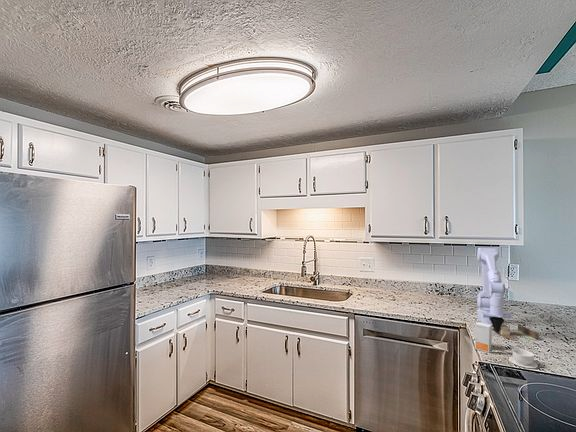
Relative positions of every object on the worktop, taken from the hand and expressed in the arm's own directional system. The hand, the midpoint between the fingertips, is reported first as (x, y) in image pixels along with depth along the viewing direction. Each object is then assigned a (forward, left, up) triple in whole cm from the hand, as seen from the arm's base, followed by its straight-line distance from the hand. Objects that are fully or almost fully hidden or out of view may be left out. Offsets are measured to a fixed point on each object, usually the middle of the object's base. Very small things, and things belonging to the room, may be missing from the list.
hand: (496, 331), depth 160 cm
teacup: (+30, -7, -3) cm, 31 cm away
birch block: (0, +3, -1) cm, 4 cm away
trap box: (0, +8, -2) cm, 8 cm away
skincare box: (+18, -16, -3) cm, 25 cm away
